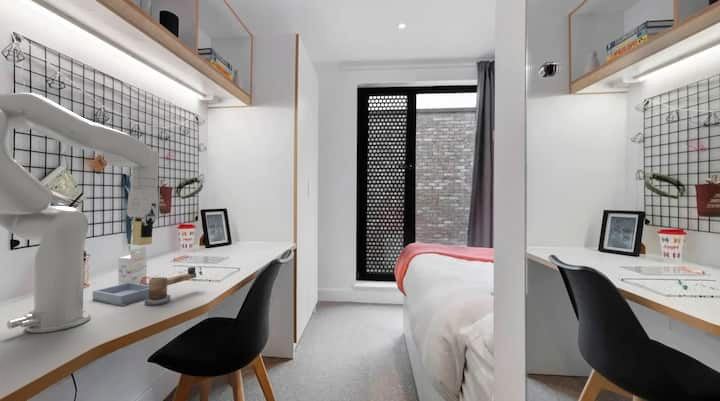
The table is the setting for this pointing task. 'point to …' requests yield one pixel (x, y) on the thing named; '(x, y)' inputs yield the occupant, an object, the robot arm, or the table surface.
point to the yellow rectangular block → (139, 234)
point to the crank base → (157, 301)
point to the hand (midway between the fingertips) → (142, 236)
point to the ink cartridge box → (133, 267)
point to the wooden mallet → (167, 283)
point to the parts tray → (122, 293)
